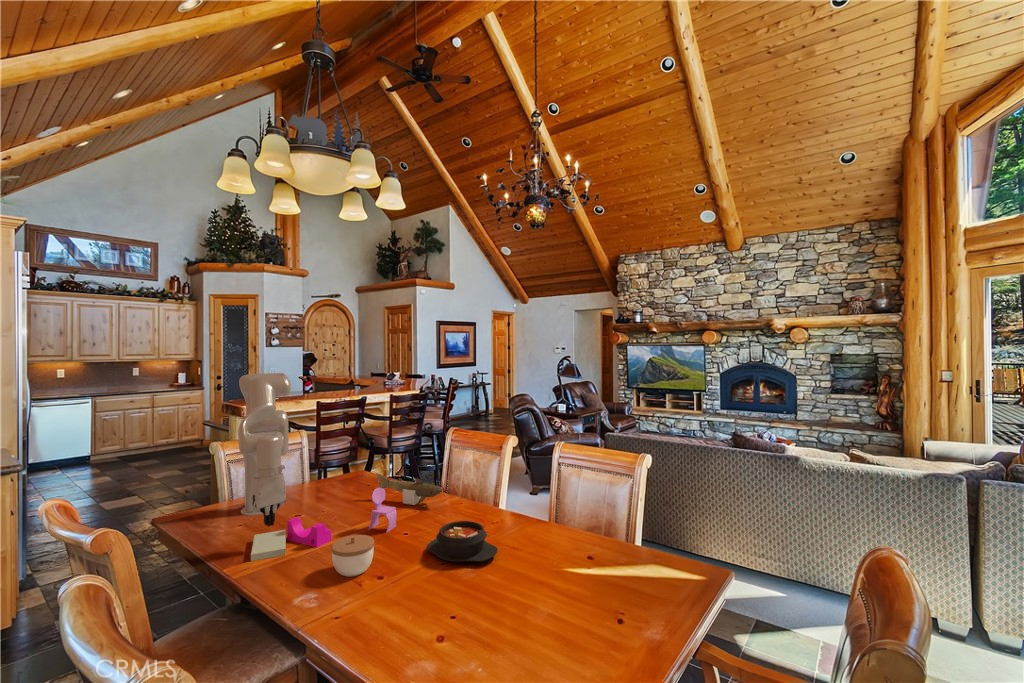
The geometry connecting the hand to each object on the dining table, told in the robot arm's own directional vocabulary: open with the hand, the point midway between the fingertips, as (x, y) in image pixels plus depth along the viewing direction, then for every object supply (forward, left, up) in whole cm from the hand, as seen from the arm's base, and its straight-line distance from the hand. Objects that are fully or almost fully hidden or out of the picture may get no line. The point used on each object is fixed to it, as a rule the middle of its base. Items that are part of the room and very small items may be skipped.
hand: (269, 524), depth 157 cm
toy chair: (+16, +35, -9) cm, 40 cm away
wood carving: (+1, +60, -9) cm, 61 cm away
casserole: (+56, +37, -9) cm, 68 cm away
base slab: (0, 0, -9) cm, 9 cm away
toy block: (+4, +12, -9) cm, 16 cm away
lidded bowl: (+37, +8, -9) cm, 39 cm away
